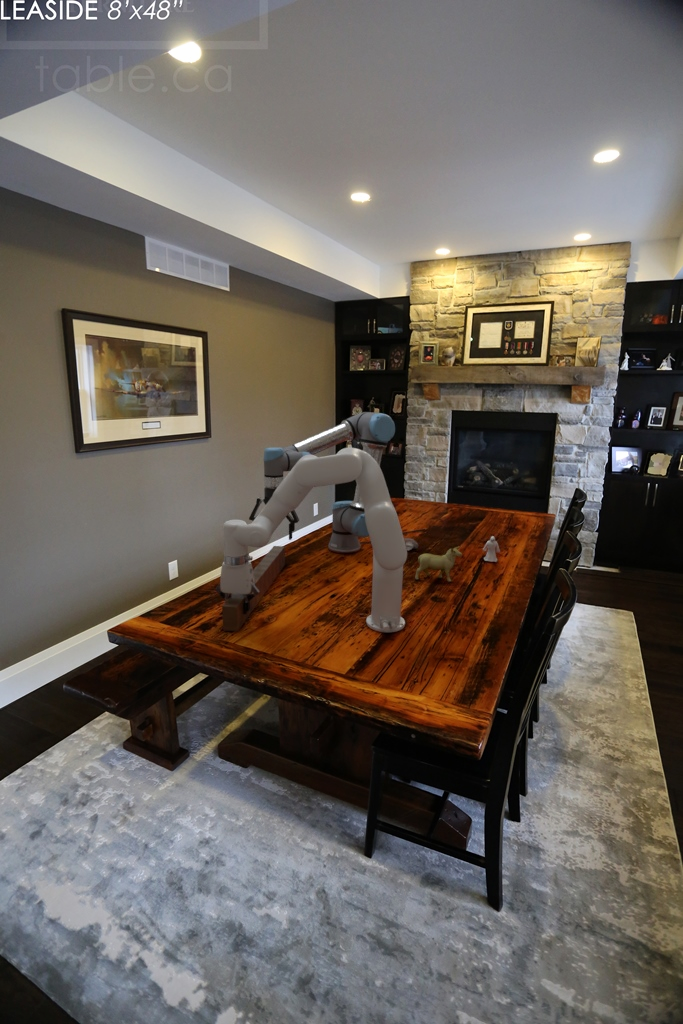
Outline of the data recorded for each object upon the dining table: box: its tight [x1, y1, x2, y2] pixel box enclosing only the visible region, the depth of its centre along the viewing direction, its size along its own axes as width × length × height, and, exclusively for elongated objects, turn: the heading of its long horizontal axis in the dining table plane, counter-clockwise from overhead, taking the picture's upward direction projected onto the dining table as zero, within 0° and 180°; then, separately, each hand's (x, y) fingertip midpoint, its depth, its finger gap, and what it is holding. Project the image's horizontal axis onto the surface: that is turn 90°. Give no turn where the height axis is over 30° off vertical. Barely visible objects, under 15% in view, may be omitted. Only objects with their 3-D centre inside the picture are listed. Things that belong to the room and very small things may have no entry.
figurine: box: [482, 535, 501, 563], centre depth 223 cm, size 8×8×12 cm
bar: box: [221, 545, 286, 633], centre depth 184 cm, size 61×5×8 cm, turn 172°
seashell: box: [404, 537, 419, 552], centre depth 237 cm, size 8×5×8 cm
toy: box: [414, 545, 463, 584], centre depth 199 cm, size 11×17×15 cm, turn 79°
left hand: (274, 537), depth 204 cm, fingers open, 13 cm apart
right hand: (238, 611), depth 162 cm, fingers closed on bar, 4 cm apart
